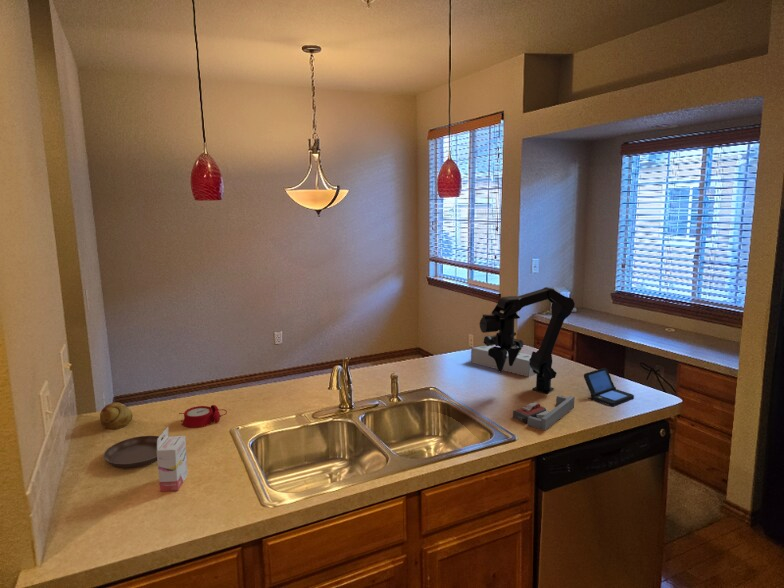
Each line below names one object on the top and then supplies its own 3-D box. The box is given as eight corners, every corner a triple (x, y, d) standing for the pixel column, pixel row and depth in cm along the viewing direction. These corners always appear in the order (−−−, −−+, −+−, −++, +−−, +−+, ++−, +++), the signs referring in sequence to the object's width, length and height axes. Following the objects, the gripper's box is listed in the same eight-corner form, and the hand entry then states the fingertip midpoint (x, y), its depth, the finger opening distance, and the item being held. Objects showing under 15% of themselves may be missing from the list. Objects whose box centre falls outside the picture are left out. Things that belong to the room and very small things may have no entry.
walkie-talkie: (529, 427, 173) (564, 413, 184) (529, 415, 172) (565, 401, 184) (509, 418, 179) (544, 405, 191) (509, 407, 179) (545, 394, 190)
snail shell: (98, 420, 178) (96, 398, 176) (129, 413, 183) (127, 392, 182) (102, 434, 167) (99, 411, 166) (135, 426, 173) (132, 404, 171)
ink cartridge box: (178, 491, 134) (174, 439, 131) (159, 492, 134) (154, 440, 131) (188, 474, 143) (185, 425, 140) (170, 475, 142) (166, 425, 139)
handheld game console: (612, 407, 189) (614, 383, 187) (580, 396, 200) (582, 374, 198) (635, 398, 198) (637, 375, 196) (604, 388, 209) (605, 366, 207)
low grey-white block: (544, 369, 231) (544, 353, 230) (528, 377, 221) (529, 361, 220) (487, 356, 251) (487, 341, 250) (470, 363, 241) (471, 347, 240)
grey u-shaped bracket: (557, 402, 193) (558, 392, 192) (574, 406, 189) (574, 396, 188) (527, 425, 173) (528, 414, 172) (544, 430, 169) (545, 419, 169)
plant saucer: (159, 438, 164) (158, 429, 164) (179, 458, 151) (178, 449, 151) (97, 456, 153) (96, 447, 152) (113, 480, 140) (112, 470, 139)
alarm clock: (177, 410, 178) (220, 394, 183) (183, 425, 179) (225, 409, 185) (179, 421, 168) (224, 404, 174) (185, 437, 170) (230, 420, 176)
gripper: (498, 322, 208) (497, 359, 211) (476, 332, 193) (475, 371, 196) (524, 326, 201) (523, 364, 204) (502, 336, 186) (501, 377, 189)
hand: (505, 368), depth 198 cm, fingers open, 9 cm apart
